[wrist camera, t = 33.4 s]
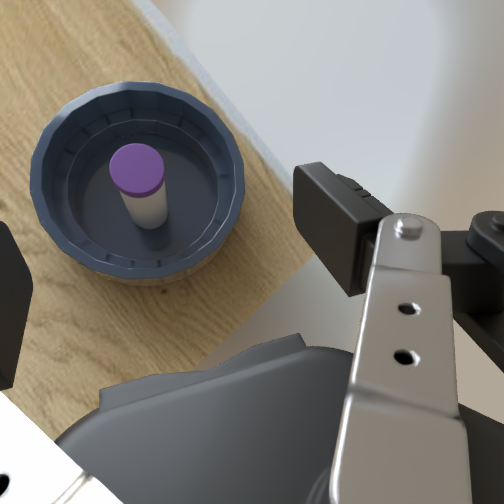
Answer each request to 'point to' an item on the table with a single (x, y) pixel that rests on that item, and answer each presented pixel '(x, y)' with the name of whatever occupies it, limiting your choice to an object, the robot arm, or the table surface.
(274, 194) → the table surface
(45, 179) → the bowl
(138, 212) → the glue stick
